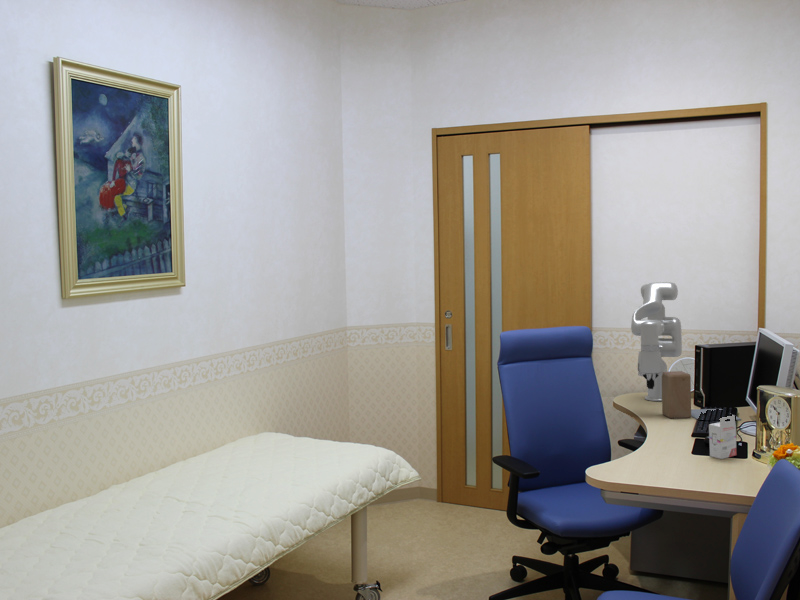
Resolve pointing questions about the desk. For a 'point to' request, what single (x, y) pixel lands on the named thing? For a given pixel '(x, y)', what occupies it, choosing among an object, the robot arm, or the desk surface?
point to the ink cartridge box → (723, 438)
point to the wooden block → (676, 394)
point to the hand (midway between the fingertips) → (650, 388)
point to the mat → (696, 412)
